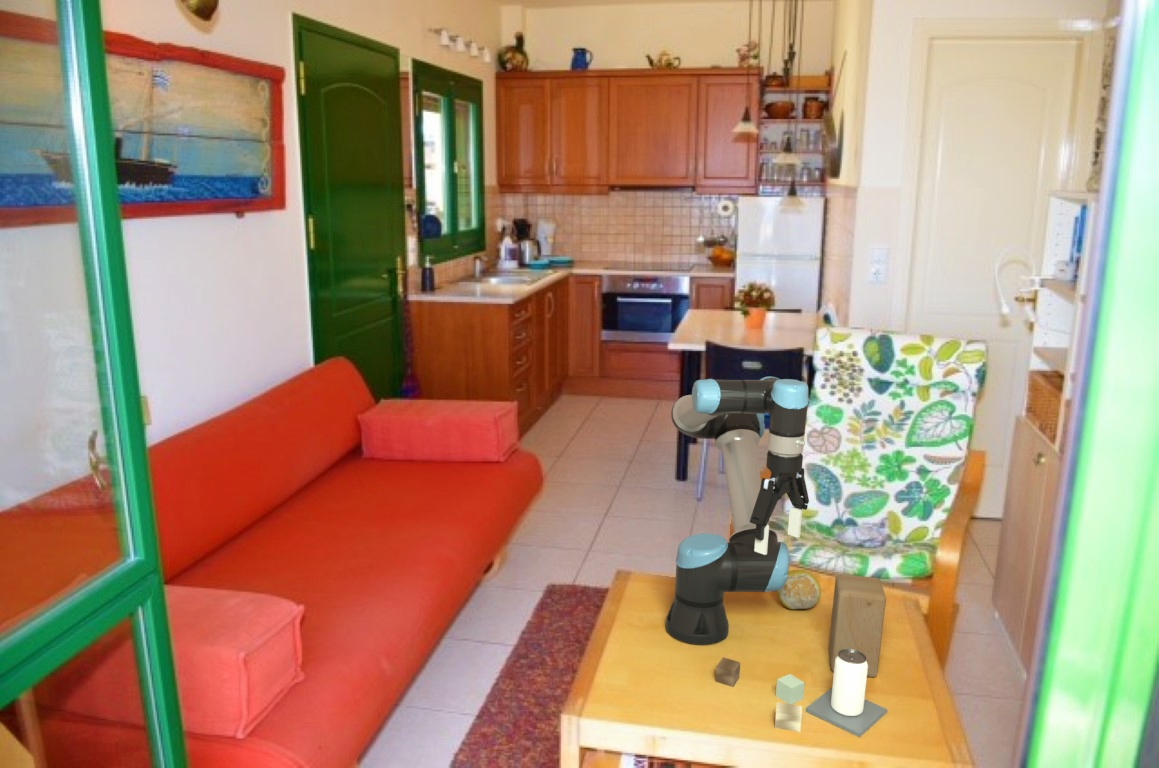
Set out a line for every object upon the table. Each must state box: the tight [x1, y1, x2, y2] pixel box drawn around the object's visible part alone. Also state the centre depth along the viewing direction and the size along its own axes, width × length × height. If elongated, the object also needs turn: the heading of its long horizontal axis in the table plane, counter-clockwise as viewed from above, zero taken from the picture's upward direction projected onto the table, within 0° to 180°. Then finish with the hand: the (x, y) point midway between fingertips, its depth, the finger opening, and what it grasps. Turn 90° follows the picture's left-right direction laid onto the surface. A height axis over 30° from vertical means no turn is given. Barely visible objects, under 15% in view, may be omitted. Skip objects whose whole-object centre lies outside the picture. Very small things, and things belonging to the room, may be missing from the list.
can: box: [831, 649, 868, 717], centre depth 180 cm, size 6×6×12 cm
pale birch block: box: [774, 701, 803, 733], centre depth 176 cm, size 5×3×4 cm, turn 76°
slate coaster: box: [805, 687, 888, 738], centre depth 182 cm, size 12×12×1 cm
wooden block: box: [827, 573, 887, 678], centre depth 198 cm, size 10×10×20 cm
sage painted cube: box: [775, 673, 805, 705], centre depth 186 cm, size 4×4×4 cm
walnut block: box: [715, 657, 741, 688], centre depth 192 cm, size 4×4×4 cm
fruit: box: [776, 569, 822, 610], centre depth 225 cm, size 10×11×10 cm
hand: (777, 544), depth 194 cm, fingers open, 13 cm apart
